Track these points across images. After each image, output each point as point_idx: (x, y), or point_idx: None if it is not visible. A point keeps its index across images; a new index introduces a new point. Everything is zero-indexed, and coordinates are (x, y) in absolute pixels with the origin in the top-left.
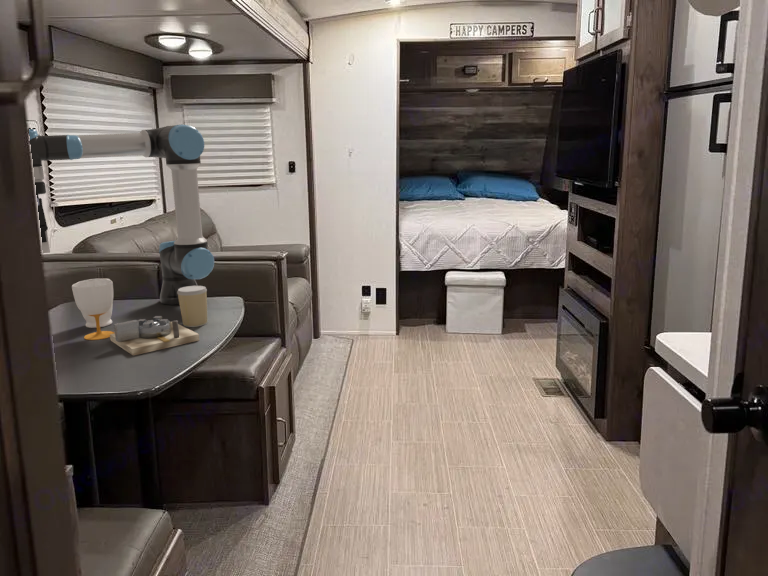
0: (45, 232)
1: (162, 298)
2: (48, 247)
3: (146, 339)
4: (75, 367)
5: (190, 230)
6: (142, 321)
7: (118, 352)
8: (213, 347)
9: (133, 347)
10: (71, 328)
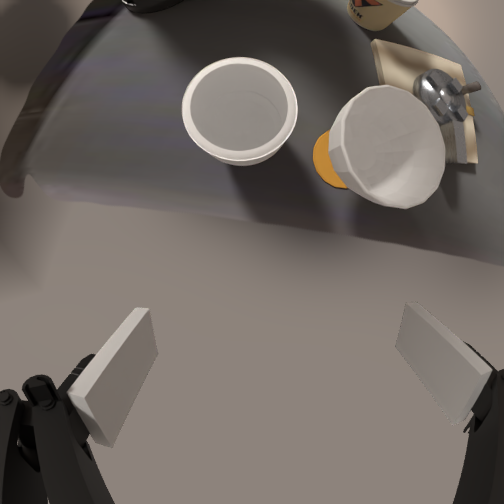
0: (484, 374)
1: (161, 3)
2: (430, 318)
3: None
4: (465, 241)
5: None
6: (447, 109)
7: (450, 171)
8: (482, 79)
9: (474, 158)
10: (232, 191)
